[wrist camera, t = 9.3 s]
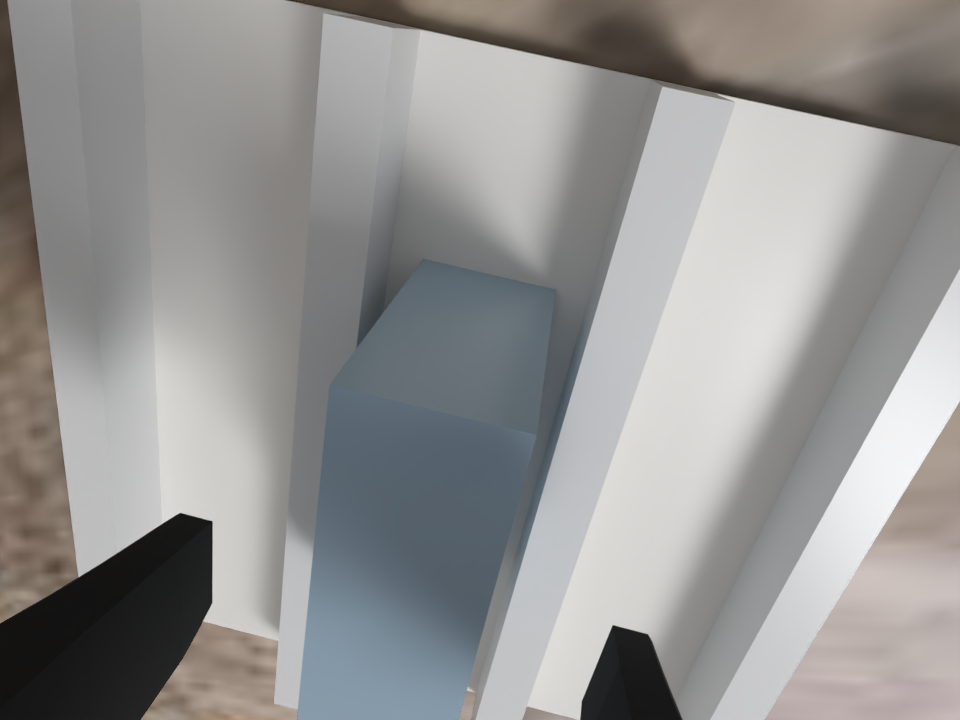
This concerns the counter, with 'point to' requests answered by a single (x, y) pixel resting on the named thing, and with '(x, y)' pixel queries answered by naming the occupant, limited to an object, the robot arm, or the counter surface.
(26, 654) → the robot arm
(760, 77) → the counter surface
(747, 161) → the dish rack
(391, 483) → the blue block
